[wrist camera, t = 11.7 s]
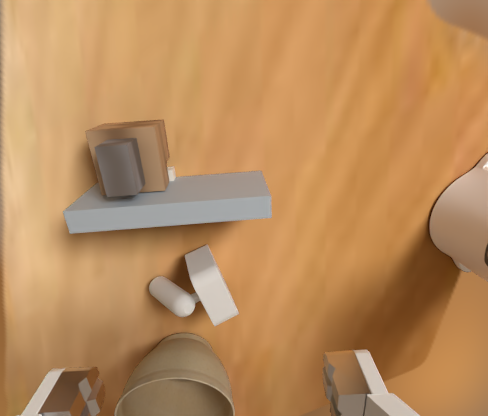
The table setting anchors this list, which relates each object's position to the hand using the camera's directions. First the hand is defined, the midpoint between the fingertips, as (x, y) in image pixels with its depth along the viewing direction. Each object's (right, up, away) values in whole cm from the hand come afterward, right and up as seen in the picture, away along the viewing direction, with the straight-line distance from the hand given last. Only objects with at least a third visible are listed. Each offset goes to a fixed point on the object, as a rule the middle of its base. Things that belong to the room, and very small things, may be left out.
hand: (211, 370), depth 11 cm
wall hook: (-7, -4, +34) cm, 35 cm away
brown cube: (-12, +13, +27) cm, 32 cm away
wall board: (-7, +9, +29) cm, 31 cm away
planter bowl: (-9, -18, +41) cm, 46 cm away
